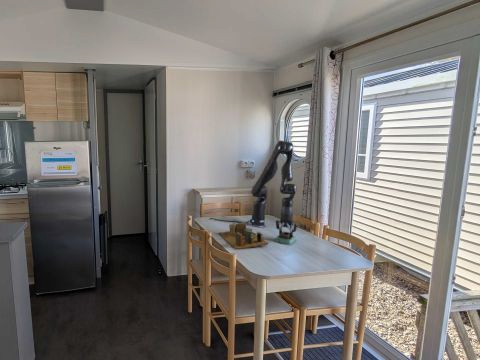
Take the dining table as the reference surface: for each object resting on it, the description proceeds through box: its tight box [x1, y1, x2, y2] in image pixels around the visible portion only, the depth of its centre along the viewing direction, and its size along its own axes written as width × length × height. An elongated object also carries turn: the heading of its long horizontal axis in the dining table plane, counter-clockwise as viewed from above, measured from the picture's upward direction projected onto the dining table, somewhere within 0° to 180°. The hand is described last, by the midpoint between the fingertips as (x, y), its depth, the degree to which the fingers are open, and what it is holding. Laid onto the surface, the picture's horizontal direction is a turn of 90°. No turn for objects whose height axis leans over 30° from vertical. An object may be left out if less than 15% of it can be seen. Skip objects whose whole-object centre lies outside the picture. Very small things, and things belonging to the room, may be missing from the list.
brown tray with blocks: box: [218, 222, 269, 250], centre depth 207 cm, size 35×24×15 cm
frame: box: [278, 230, 290, 240], centre depth 205 cm, size 8×6×3 cm
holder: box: [275, 235, 296, 245], centre depth 205 cm, size 11×9×3 cm
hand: (285, 236), depth 205 cm, fingers closed on frame, 6 cm apart
